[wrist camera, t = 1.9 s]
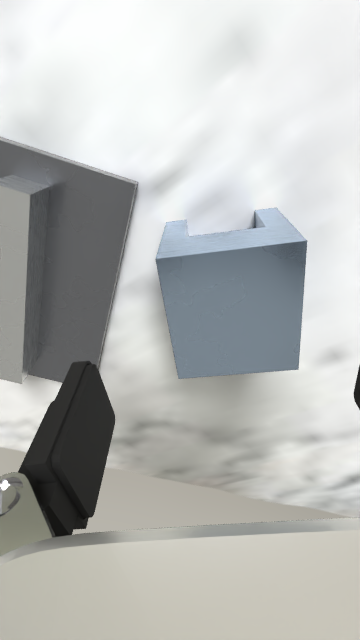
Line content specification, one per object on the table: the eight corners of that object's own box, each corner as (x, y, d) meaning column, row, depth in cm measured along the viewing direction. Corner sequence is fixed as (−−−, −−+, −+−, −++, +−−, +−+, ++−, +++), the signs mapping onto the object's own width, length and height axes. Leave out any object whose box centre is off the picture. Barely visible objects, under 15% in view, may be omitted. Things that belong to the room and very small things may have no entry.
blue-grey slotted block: (276, 207, 18) (307, 240, 13) (274, 316, 22) (297, 375, 17) (166, 222, 19) (155, 259, 14) (183, 325, 23) (179, 384, 18)
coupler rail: (138, 182, 18) (127, 192, 15) (94, 382, 26) (83, 413, 23) (-69, 114, 16) (-121, 112, 14) (-45, 348, 25) (-74, 376, 22)
